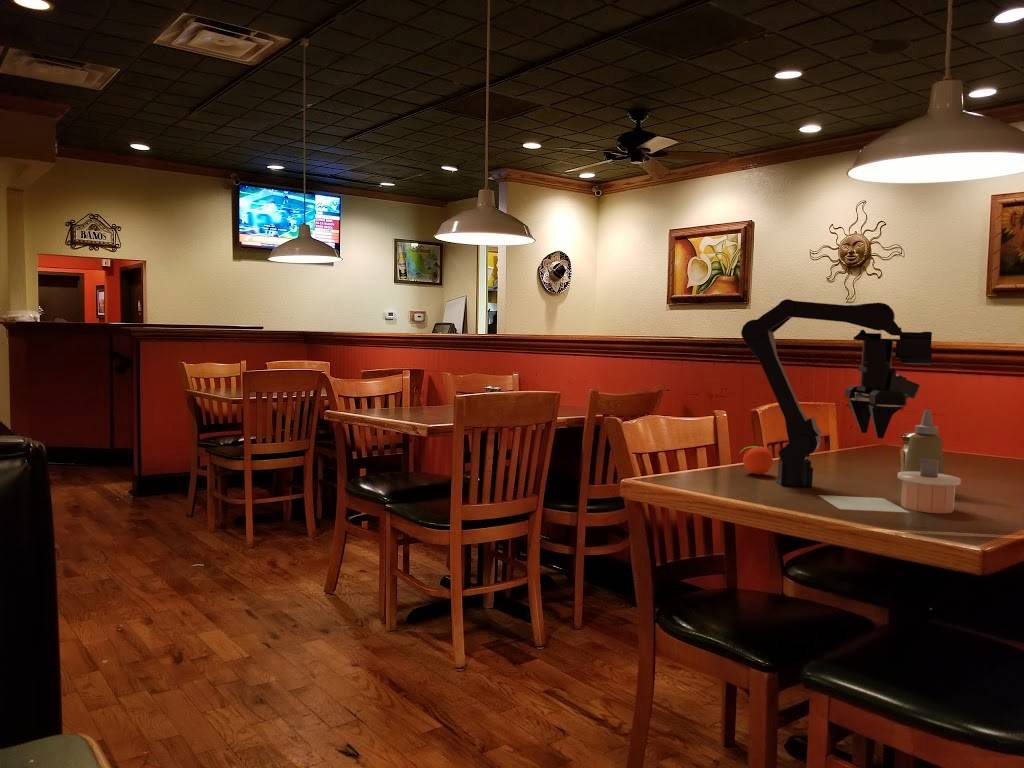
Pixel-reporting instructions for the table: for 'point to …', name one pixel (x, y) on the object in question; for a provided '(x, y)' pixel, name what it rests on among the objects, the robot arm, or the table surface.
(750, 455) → the clementine
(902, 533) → the table surface
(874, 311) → the robot arm
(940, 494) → the bowl
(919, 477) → the lid
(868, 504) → the mat
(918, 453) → the squeeze bottle
